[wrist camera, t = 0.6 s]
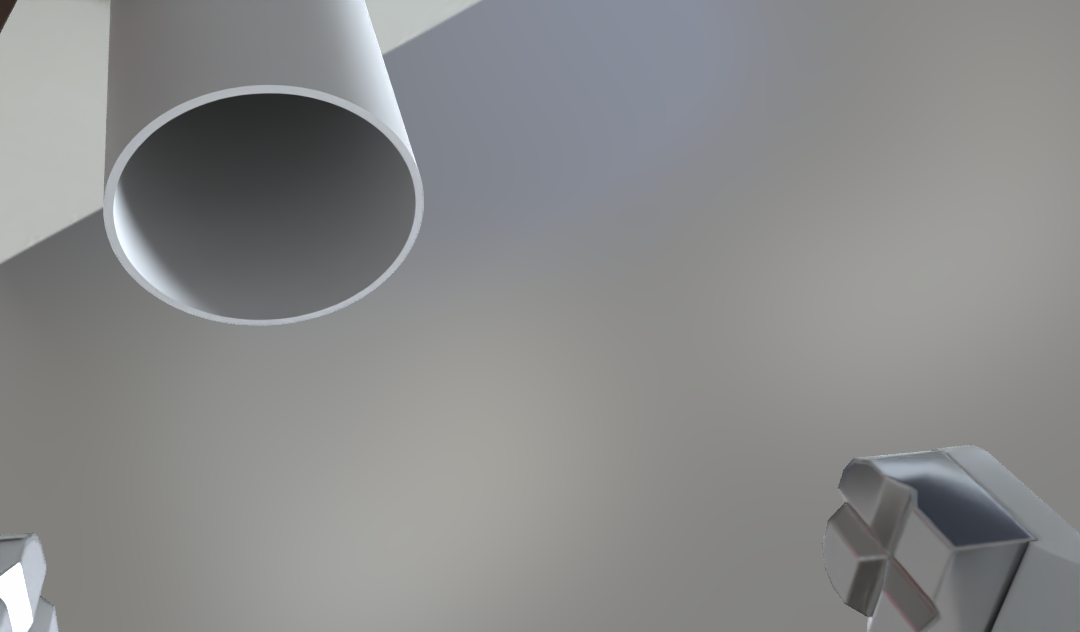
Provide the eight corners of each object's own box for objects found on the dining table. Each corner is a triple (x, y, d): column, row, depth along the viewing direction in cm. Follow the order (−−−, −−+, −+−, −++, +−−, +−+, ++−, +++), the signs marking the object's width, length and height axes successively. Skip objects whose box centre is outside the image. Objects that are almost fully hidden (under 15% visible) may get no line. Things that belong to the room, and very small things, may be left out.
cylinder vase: (103, -190, 48) (87, 77, 32) (349, -157, 53) (444, 92, 36) (122, 31, 57) (117, 331, 40) (333, 44, 61) (404, 318, 45)
